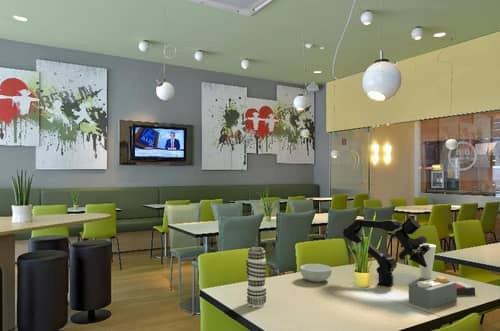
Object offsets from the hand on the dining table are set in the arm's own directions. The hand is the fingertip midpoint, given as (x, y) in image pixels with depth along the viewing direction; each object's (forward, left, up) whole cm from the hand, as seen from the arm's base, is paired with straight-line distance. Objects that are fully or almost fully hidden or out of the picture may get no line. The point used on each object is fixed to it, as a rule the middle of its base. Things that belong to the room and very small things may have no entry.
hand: (426, 266), depth 187 cm
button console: (+5, -9, -13) cm, 17 cm away
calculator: (+10, +12, -14) cm, 21 cm away
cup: (-7, +32, -13) cm, 35 cm away
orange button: (+7, -3, -7) cm, 10 cm away
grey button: (+2, -16, -7) cm, 17 cm away
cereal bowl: (-54, -8, -13) cm, 56 cm away
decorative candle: (-57, -59, -13) cm, 83 cm away
